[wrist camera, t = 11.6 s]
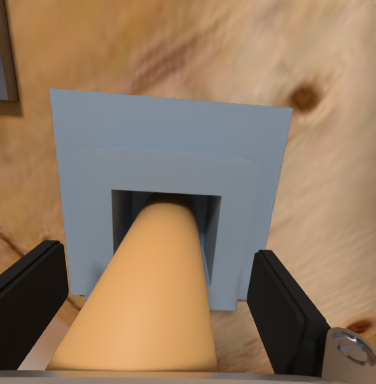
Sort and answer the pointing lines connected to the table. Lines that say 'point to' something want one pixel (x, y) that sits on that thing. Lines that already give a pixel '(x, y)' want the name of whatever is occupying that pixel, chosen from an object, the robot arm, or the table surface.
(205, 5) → the table surface
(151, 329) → the lock pin
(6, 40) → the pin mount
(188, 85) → the table surface
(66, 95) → the socket block
